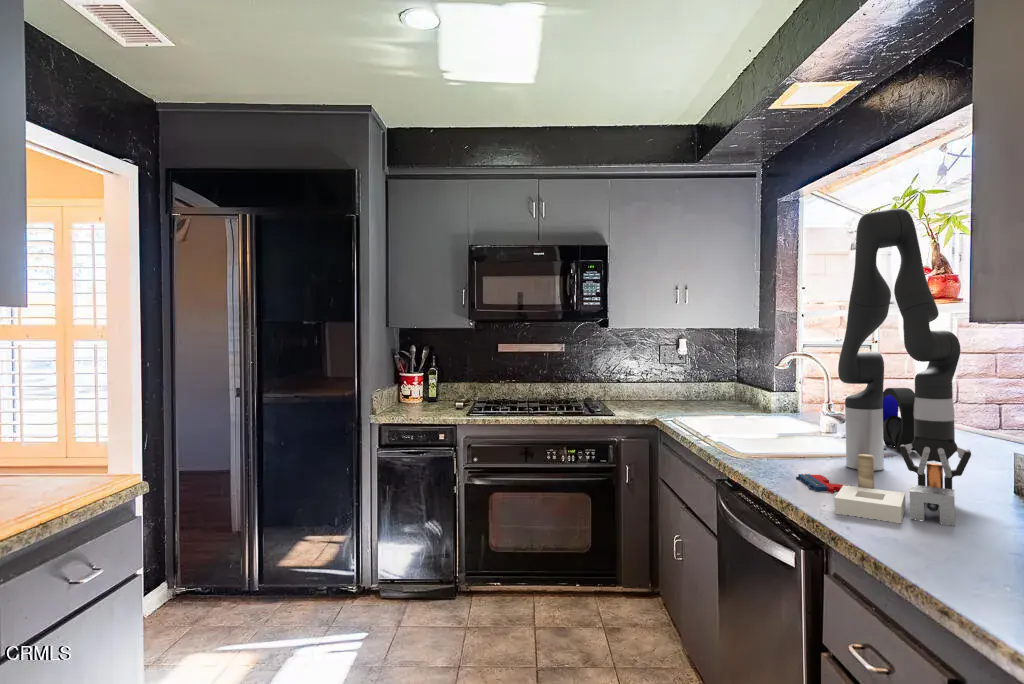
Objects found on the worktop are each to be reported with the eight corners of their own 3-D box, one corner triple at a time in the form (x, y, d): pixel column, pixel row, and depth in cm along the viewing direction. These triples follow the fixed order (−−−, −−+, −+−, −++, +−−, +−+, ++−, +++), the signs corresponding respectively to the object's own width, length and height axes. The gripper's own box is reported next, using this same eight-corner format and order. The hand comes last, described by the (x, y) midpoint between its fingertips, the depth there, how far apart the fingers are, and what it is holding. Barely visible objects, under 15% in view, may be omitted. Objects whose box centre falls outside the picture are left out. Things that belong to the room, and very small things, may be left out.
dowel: (859, 494, 138) (858, 453, 138) (874, 497, 136) (874, 455, 136) (857, 498, 135) (856, 456, 135) (873, 500, 133) (872, 457, 133)
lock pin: (943, 498, 132) (942, 464, 132) (941, 516, 120) (941, 478, 120) (927, 496, 134) (926, 462, 134) (924, 514, 122) (923, 477, 122)
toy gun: (834, 479, 154) (794, 479, 155) (834, 474, 154) (794, 473, 155) (857, 495, 139) (813, 494, 141) (857, 489, 139) (813, 487, 141)
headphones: (925, 455, 177) (924, 391, 176) (901, 455, 178) (900, 391, 178) (898, 443, 195) (898, 385, 194) (877, 443, 196) (876, 385, 196)
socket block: (843, 500, 134) (843, 485, 134) (905, 508, 127) (905, 492, 127) (834, 513, 125) (834, 497, 125) (901, 523, 117) (900, 506, 117)
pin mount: (954, 518, 120) (954, 489, 120) (954, 526, 115) (954, 496, 115) (911, 512, 124) (911, 484, 124) (910, 519, 120) (909, 491, 120)
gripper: (973, 417, 130) (974, 492, 130) (898, 413, 139) (899, 483, 139) (973, 421, 124) (974, 500, 125) (895, 417, 133) (896, 490, 133)
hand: (934, 491), depth 132 cm, fingers open, 3 cm apart
